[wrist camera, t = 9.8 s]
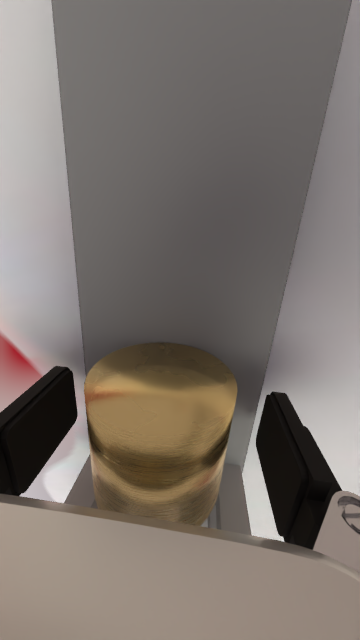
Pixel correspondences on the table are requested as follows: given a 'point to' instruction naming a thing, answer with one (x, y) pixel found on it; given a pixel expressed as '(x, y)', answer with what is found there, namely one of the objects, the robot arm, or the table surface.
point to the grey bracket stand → (191, 180)
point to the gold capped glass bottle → (159, 430)
